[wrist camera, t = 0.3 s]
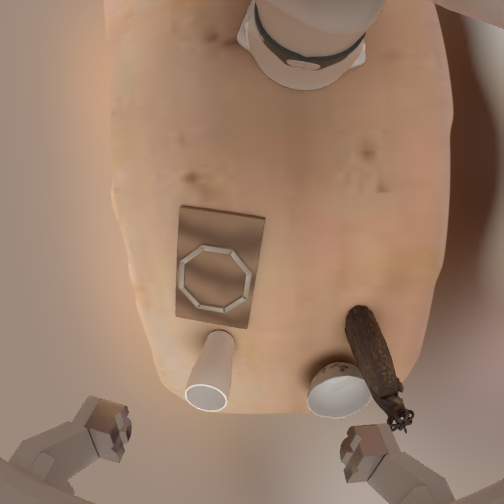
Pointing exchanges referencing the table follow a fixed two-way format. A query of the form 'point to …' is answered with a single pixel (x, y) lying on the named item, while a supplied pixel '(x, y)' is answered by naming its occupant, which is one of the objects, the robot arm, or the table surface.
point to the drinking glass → (212, 373)
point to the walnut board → (217, 265)
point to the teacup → (338, 391)
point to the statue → (376, 365)
